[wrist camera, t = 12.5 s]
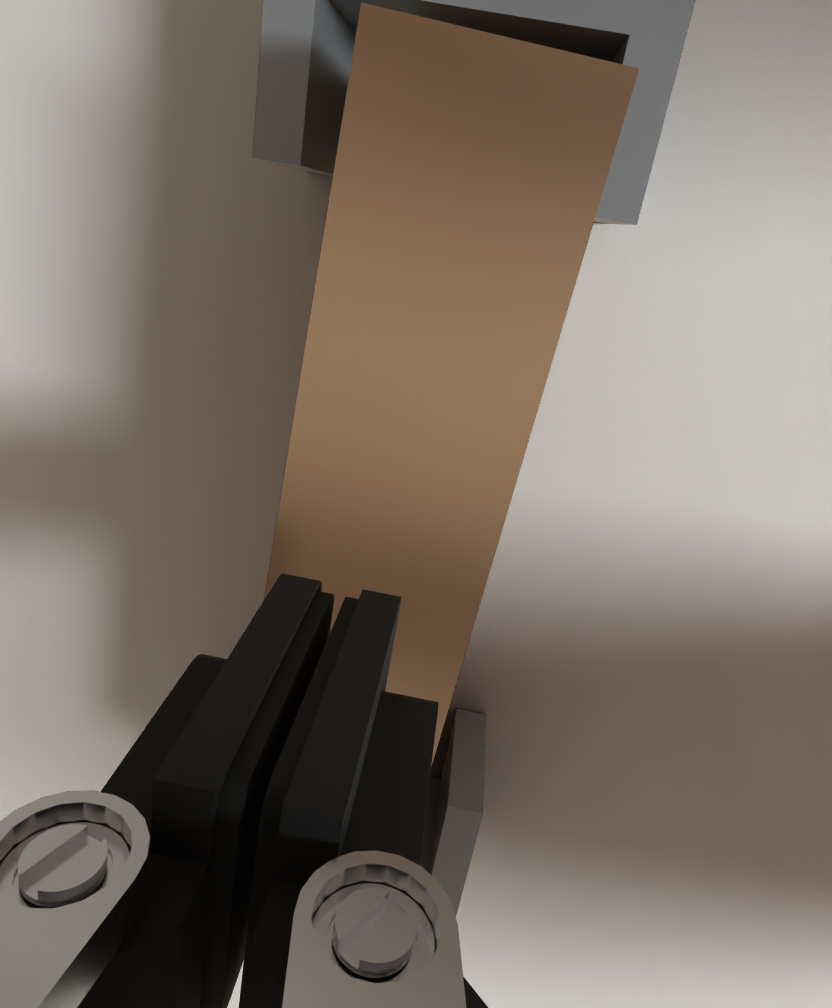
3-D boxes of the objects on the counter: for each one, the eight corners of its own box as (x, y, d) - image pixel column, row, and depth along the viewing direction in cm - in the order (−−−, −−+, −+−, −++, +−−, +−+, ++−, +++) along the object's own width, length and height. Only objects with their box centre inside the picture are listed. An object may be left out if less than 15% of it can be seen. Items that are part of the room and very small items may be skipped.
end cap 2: (460, 817, 21) (453, 926, 18) (248, 772, 21) (203, 872, 18) (486, 714, 19) (482, 813, 16) (258, 667, 20) (211, 755, 16)
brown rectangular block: (414, 86, 14) (361, 2, 9) (585, 126, 14) (639, 69, 9) (292, 716, 20) (214, 901, 15) (411, 747, 20) (378, 944, 15)
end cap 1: (326, -43, 14) (271, -126, 10) (659, 11, 13) (709, -55, 10) (306, 170, 15) (252, 157, 12) (606, 223, 15) (636, 224, 11)
